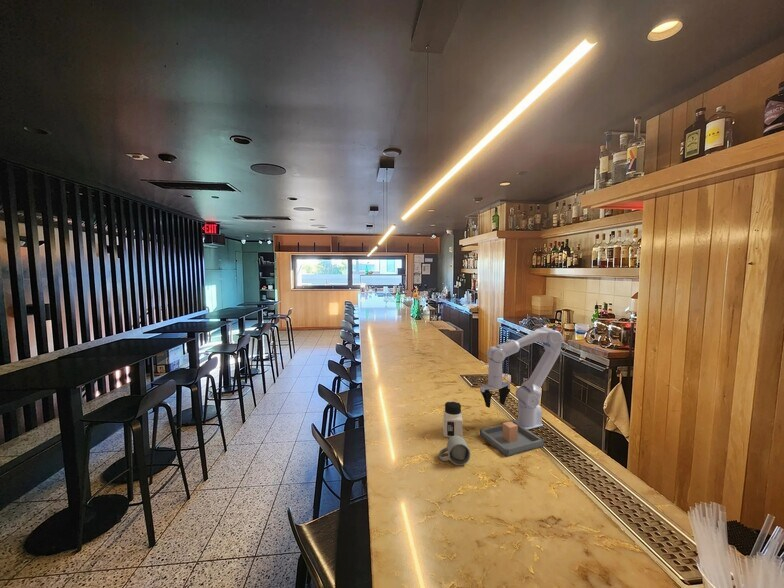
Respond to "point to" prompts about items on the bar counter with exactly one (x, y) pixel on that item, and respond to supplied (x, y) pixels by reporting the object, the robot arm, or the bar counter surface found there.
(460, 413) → the container
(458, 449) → the ceramic mug
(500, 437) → the charcoal tray
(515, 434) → the terracotta block
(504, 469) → the bar counter surface
